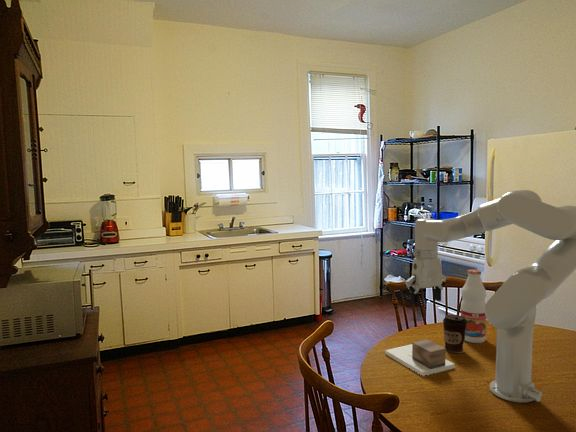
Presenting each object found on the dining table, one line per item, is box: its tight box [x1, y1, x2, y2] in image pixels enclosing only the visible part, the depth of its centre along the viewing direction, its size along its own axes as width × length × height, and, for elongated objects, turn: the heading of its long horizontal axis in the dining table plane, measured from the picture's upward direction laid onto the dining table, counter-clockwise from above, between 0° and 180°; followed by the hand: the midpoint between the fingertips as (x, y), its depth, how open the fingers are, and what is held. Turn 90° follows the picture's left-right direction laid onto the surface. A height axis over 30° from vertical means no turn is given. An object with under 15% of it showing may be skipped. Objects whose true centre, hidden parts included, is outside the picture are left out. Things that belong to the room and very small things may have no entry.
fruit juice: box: [460, 268, 487, 344], centre depth 171 cm, size 9×9×28 cm
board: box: [384, 343, 456, 377], centre depth 153 cm, size 20×14×2 cm
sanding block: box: [412, 338, 447, 369], centre depth 148 cm, size 9×6×6 cm
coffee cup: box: [442, 314, 467, 354], centre depth 161 cm, size 9×8×13 cm
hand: (426, 302), depth 150 cm, fingers open, 9 cm apart
